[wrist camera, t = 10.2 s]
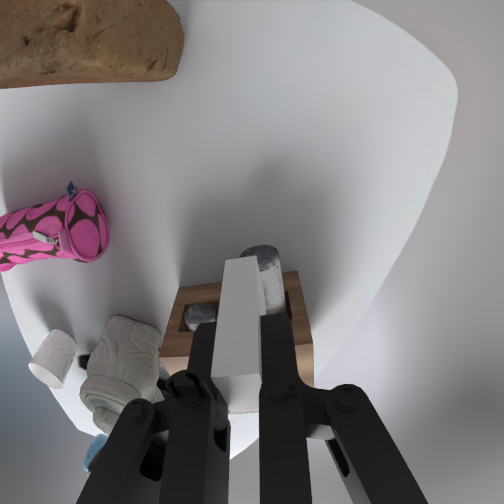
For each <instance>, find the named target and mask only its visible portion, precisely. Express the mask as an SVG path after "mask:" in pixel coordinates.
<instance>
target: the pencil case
mask: <svg viewBox="0 0 504 504" xmlns="http://www.w3.org/2000/svg"><path fill="white" fill-rule="evenodd" d="M67 190H68V192H69V194H68V195H66V196H63V197H61V198H58V199H56V200H54V201H52V202H50V203H47V204H40V205H35V206H33V207H31V208H29V207H28V208H24V209H21V210H18V211H14V212H11V213H8V214H6V215H4V216H2V217H0V272H4V271H8V270H10V269H11V268H12V267H14V266H15V265H16V264H24V263H27V262H30V261H33V260H35V259H46V258H50V257H51V258H71V259H73V260H76V261H78V262H84V263H88V262H92V261H95V260H96V259H98V258H99V257H100V256H101V255H103V253H104V252H105V251H106V249H107V247H108V244H109V228H108V224H107V221H106V217H105V214H104V212H103V210H102V208H101V206H100V204H99V202H98V201H97V199H96V197H95V196H94V194H93V193H92V192H90V191H89V190H87V189H80V190H77V188H76V187H75V186H74V185H73V183H72V181H70V183H69V185H68V187H67Z"/></svg>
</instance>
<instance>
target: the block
mask: <svg viewBox="0 0 504 504" xmlns="http://www.w3.org/2000/svg"><path fill="white" fill-rule="evenodd" d="M182 49H183V32H182V27H181V23H180V17H179V15H178V13H177V12H176V11H175V9H174V8H173V7H172V6H171V5H170V4H169V3H168V2H167V1H166V0H0V89H7V88H20V87H30V86H42V85H56V84H74V83H104V82H151V81H162V80H166V79H169V78H171V77H173V76H174V75H175V74H176V71H177V67H178V64H179V62H180V58H181V53H182Z"/></svg>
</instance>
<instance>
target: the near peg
mask: <svg viewBox="0 0 504 504" xmlns="http://www.w3.org/2000/svg"><path fill="white" fill-rule="evenodd" d="M249 256H256V257H257V262H258V267H259V272H260V277H261V282H262V287H263V292H264V297H265V311H266V315H269V314H277V313H284V312H285V313H286V315H287V310H286V302H285V295H284V288H283V281H282V274H281V267H280V260H279V253H278V250H277V249H276V248H275V247H272V246H269V245H259V246H254V247H251V248H249V249H247V250H245V251H244V252H243V253H242V254H241V256H240V258H243V257H249Z"/></svg>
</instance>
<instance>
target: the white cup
mask: <svg viewBox="0 0 504 504" xmlns="http://www.w3.org/2000/svg"><path fill="white" fill-rule="evenodd" d="M76 351H77V344H76V342H75V341H74V339H73V338H72V337H71V336H70V335H68V334H67V333H65V332H64V331H62V330H59V329H52V331H51V332H50V333H49V335H48V336H47V338H45V340H44V341H43V343H42V344H41V345H40V347H39V349H38V350H37V352H36V353H35V355H34V357H33V358H32V360H31V362H30V363H29V368H30V370H31V372H32V373H33V374H34V375H35V376H36V377H37V378H38V379H39V380H41V381H42V382H44V383H45V384H47V385H48V386H50V387H53V388H55V389H62V388H63V385H64V382H65V380H66V377H67V374H68V372H69V369H70V367H71V364H72V361H73V357H74V355H75V353H76Z"/></svg>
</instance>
